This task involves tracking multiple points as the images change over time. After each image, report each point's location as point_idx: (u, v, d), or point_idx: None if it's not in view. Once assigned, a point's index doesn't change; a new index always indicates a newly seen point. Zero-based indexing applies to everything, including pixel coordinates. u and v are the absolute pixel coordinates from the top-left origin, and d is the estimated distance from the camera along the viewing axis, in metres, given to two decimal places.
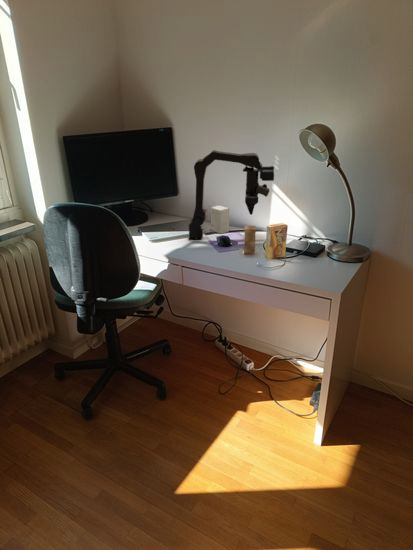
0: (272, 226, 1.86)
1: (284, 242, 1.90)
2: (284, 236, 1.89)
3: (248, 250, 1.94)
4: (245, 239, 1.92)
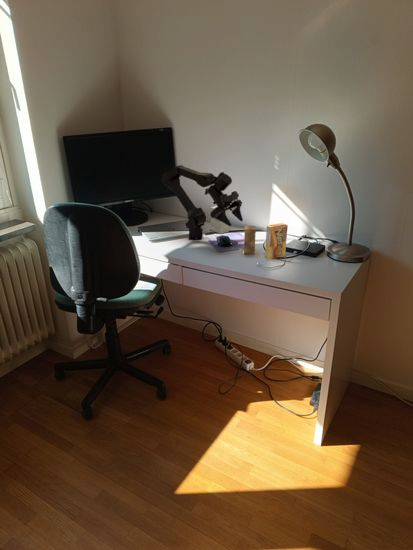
0: (272, 226, 1.86)
1: (284, 242, 1.90)
2: (284, 236, 1.89)
3: (248, 250, 1.94)
4: (245, 239, 1.92)
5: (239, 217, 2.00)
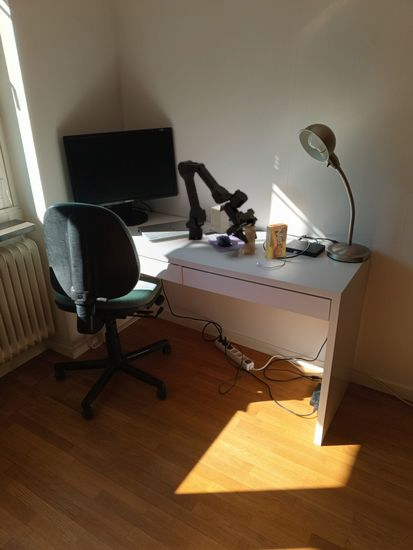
0: (272, 226, 1.86)
1: (284, 242, 1.90)
2: (284, 236, 1.89)
3: (248, 250, 1.94)
4: None
5: None
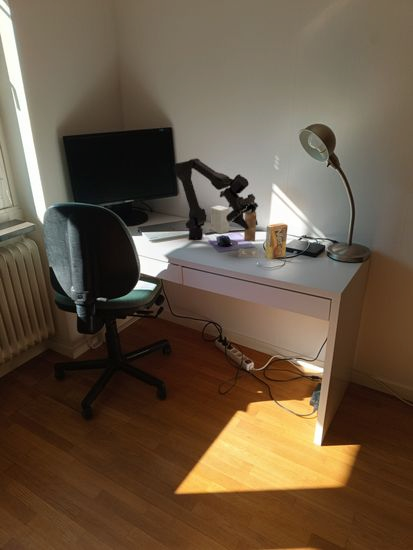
0: (272, 226, 1.86)
1: (284, 242, 1.90)
2: (284, 236, 1.89)
3: (249, 237, 1.92)
4: None
5: None
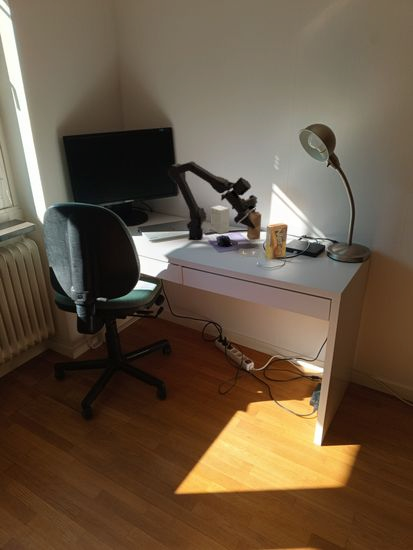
0: (272, 226, 1.86)
1: (284, 242, 1.90)
2: (284, 236, 1.89)
3: (254, 236, 2.02)
4: None
5: None
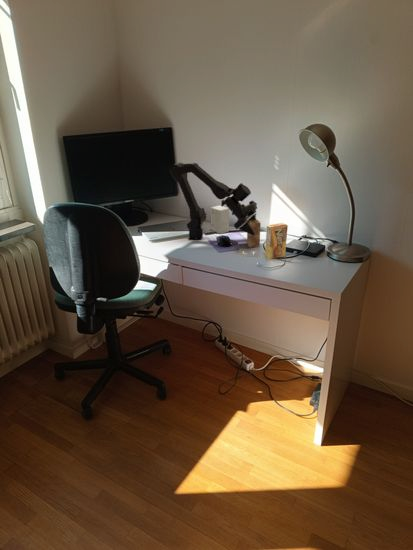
0: (272, 226, 1.86)
1: (284, 242, 1.90)
2: (284, 236, 1.89)
3: (254, 243, 2.03)
4: None
5: None
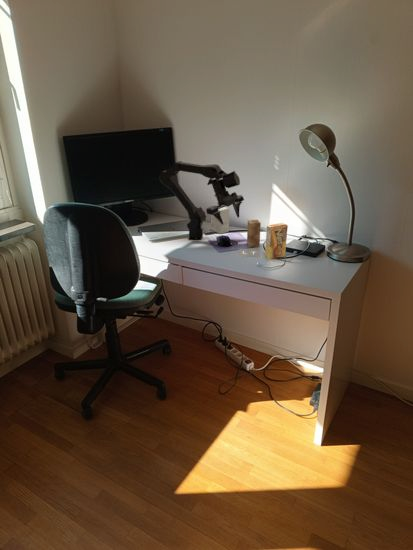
0: (272, 226, 1.86)
1: (284, 242, 1.90)
2: (284, 236, 1.89)
3: (254, 244, 2.03)
4: (251, 233, 2.01)
5: (236, 213, 2.07)
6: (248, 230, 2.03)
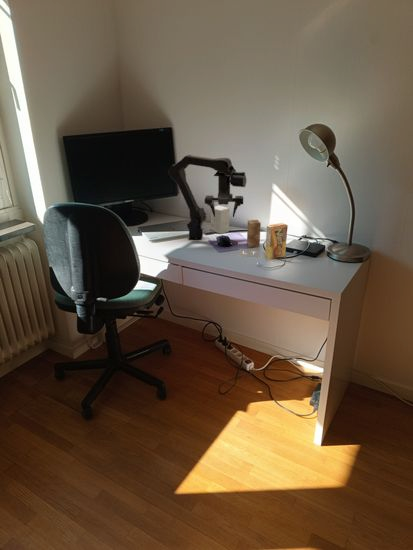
0: (272, 226, 1.86)
1: (284, 242, 1.90)
2: (284, 236, 1.89)
3: (254, 243, 2.03)
4: (251, 233, 2.01)
5: (233, 212, 2.05)
6: (248, 230, 2.03)
